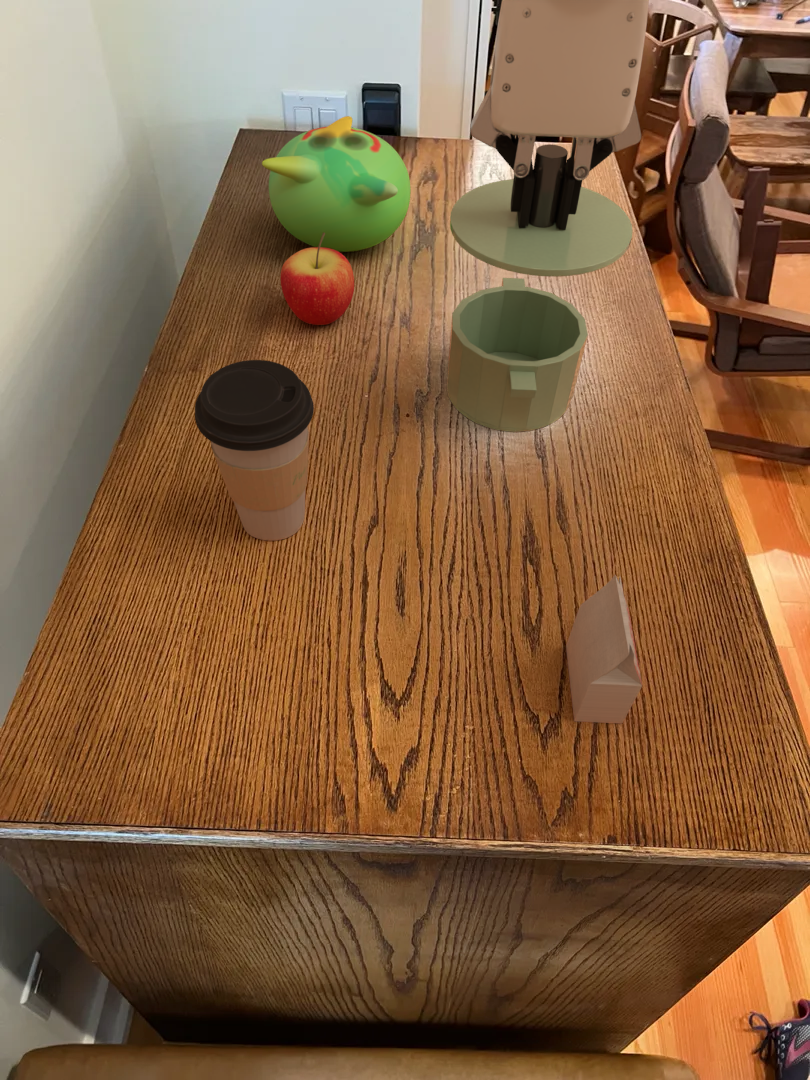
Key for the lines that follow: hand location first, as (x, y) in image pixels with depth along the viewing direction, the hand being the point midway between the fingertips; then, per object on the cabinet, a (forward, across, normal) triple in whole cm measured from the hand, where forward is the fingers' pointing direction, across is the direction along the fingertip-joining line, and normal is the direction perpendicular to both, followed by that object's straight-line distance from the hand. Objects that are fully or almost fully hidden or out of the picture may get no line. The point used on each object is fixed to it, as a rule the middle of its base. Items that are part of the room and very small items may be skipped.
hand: (541, 218), depth 62 cm
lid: (+1, 0, 0) cm, 1 cm away
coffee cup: (+23, +22, +14) cm, 35 cm away
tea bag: (+23, -6, +29) cm, 38 cm away
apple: (+23, +22, -18) cm, 36 cm away
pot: (+23, 0, -6) cm, 24 cm away
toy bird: (+23, +21, -35) cm, 47 cm away
